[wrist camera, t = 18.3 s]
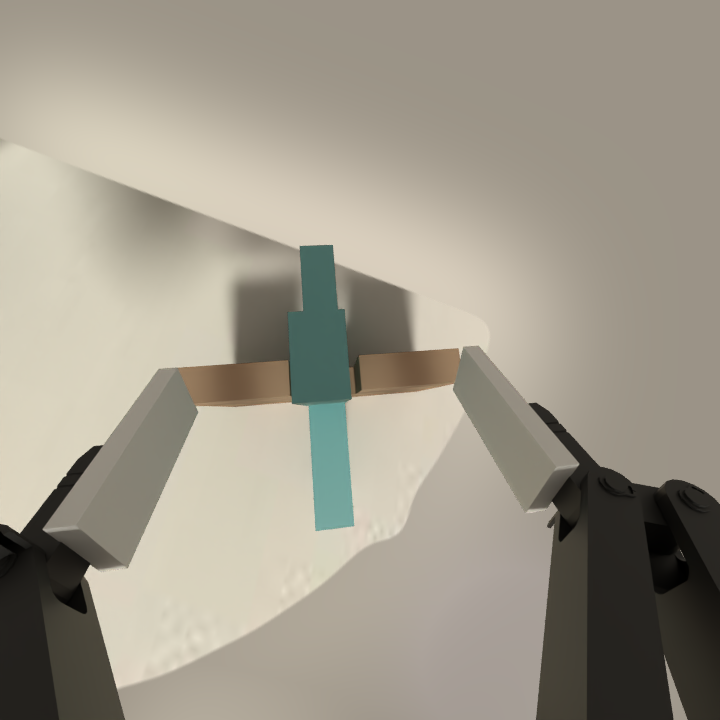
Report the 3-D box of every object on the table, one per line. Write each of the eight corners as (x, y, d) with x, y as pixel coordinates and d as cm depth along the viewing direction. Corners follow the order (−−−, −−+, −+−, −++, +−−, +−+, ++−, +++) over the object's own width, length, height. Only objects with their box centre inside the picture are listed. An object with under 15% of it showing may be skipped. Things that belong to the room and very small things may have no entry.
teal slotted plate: (346, 481, 31) (368, 609, 11) (322, 483, 30) (302, 620, 11) (333, 302, 34) (332, 153, 14) (311, 303, 34) (280, 153, 14)
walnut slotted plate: (235, 406, 31) (174, 405, 19) (235, 383, 31) (175, 367, 19) (417, 391, 33) (463, 381, 21) (414, 369, 33) (458, 348, 22)
